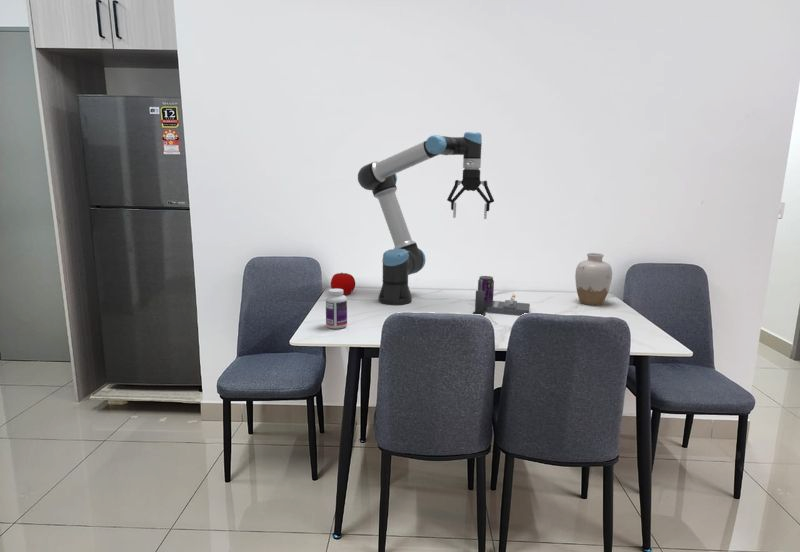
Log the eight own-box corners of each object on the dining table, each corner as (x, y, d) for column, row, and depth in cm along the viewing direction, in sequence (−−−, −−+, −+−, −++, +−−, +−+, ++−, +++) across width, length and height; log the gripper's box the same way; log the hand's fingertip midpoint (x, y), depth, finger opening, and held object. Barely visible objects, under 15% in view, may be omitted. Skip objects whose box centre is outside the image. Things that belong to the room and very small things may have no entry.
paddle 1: (510, 300, 231) (512, 295, 230) (510, 298, 234) (513, 294, 233) (512, 301, 231) (515, 296, 230) (513, 300, 233) (515, 295, 233)
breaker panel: (475, 311, 229) (476, 303, 228) (479, 305, 240) (479, 297, 239) (528, 316, 223) (528, 308, 222) (529, 309, 234) (529, 301, 234)
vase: (577, 297, 258) (581, 250, 253) (612, 301, 250) (616, 253, 245) (569, 304, 244) (573, 254, 240) (605, 309, 236) (610, 258, 232)
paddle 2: (509, 303, 226) (512, 298, 225) (509, 301, 229) (512, 296, 228) (511, 304, 226) (514, 299, 225) (512, 302, 229) (515, 298, 228)
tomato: (325, 293, 259) (325, 272, 257) (345, 289, 266) (345, 269, 264) (340, 297, 250) (340, 276, 248) (360, 294, 258) (360, 273, 256)
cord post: (472, 315, 223) (473, 292, 221) (473, 312, 228) (474, 289, 226) (484, 316, 221) (485, 293, 219) (486, 313, 226) (487, 290, 224)
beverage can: (492, 305, 240) (493, 279, 238) (476, 304, 242) (477, 278, 239) (493, 301, 247) (494, 276, 245) (477, 300, 248) (478, 275, 246)
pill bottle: (347, 323, 208) (347, 287, 206) (346, 329, 201) (346, 292, 198) (327, 323, 208) (326, 287, 205) (324, 329, 200) (324, 292, 197)
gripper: (441, 168, 230) (440, 217, 235) (500, 169, 224) (497, 220, 228) (444, 168, 238) (443, 216, 242) (501, 169, 231) (499, 218, 235)
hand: (469, 218), depth 235 cm, fingers open, 13 cm apart
